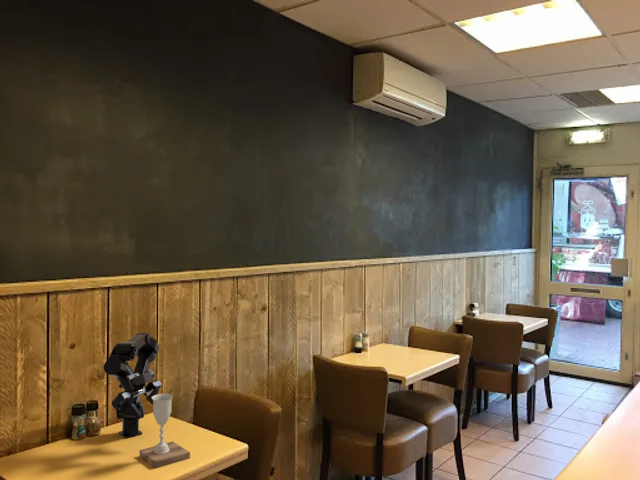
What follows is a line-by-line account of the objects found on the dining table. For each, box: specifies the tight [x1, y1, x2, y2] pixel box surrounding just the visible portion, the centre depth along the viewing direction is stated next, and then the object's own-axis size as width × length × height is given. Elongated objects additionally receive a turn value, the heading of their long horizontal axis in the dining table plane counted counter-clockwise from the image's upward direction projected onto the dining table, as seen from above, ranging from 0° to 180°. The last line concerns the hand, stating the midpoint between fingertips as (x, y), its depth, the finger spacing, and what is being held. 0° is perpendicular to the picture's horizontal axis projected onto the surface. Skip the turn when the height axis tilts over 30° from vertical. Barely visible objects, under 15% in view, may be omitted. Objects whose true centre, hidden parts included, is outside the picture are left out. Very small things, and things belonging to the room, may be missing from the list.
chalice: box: [152, 393, 174, 454], centre depth 182 cm, size 7×7×18 cm
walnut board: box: [139, 441, 191, 469], centre depth 182 cm, size 12×12×2 cm
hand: (150, 413), depth 187 cm, fingers open, 9 cm apart
